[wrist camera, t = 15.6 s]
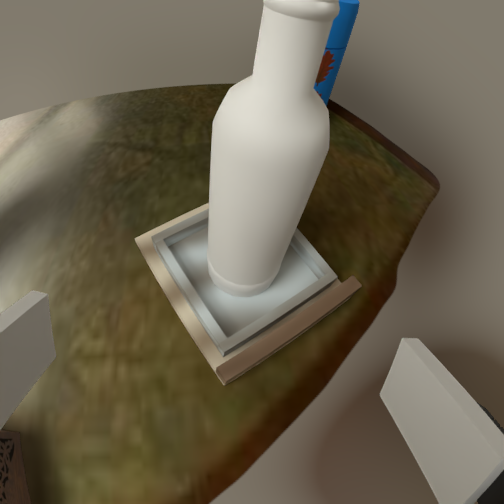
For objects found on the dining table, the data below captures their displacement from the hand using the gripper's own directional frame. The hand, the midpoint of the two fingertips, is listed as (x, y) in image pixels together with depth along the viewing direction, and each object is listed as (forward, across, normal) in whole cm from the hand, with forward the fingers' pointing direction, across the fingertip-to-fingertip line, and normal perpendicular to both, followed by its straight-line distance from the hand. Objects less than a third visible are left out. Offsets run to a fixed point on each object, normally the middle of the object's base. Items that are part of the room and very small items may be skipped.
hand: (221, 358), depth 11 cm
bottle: (+26, +2, -5) cm, 26 cm away
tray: (+27, +2, -6) cm, 28 cm away
